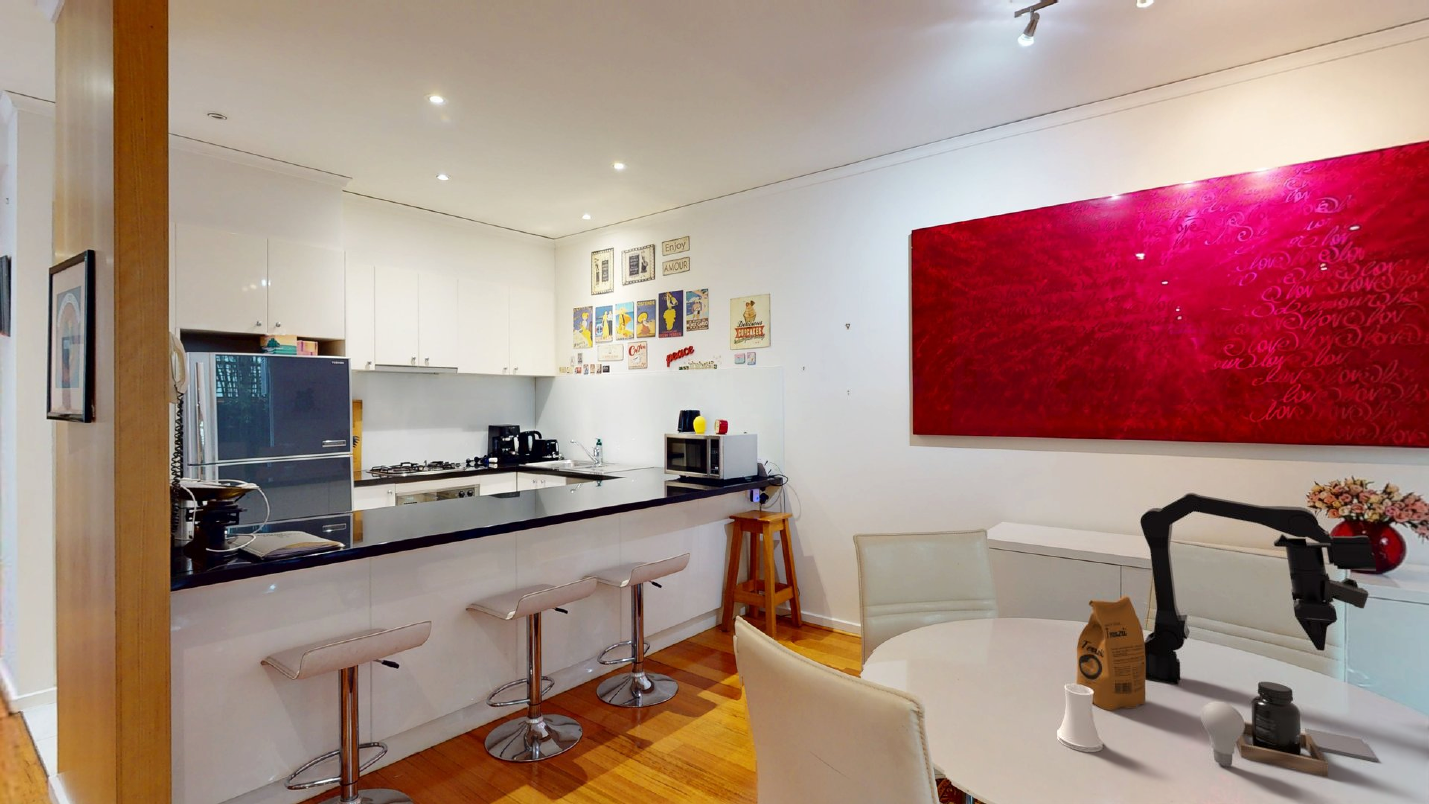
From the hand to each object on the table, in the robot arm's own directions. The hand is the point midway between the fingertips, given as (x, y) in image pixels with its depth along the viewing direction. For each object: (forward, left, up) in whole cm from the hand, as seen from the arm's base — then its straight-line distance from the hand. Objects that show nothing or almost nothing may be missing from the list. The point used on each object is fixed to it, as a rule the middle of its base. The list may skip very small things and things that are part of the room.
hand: (1319, 644), depth 133 cm
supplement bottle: (-11, -25, -15) cm, 31 cm away
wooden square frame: (-11, -25, -14) cm, 31 cm away
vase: (-42, -40, -15) cm, 60 cm away
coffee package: (-37, -16, -15) cm, 43 cm away
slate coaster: (-1, -16, -14) cm, 21 cm away
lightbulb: (-20, -36, -15) cm, 43 cm away
